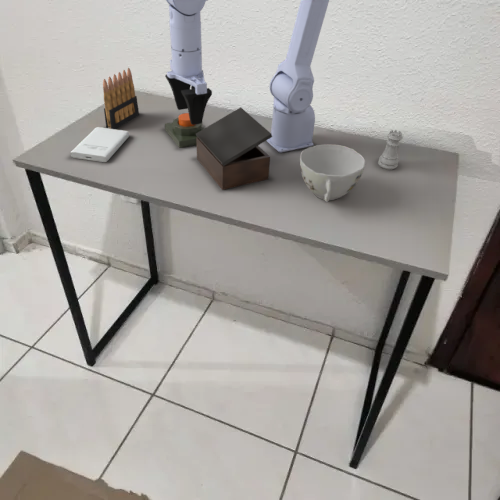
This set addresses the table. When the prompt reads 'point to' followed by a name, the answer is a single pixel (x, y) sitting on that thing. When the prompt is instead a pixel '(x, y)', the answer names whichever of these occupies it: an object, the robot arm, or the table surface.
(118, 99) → the ammunition clip
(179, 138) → the control block
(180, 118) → the button
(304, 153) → the teacup
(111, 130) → the hard drive
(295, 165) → the table surface
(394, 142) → the rook chess piece
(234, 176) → the wooden lidded box
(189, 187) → the table surface
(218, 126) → the lid
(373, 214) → the table surface
